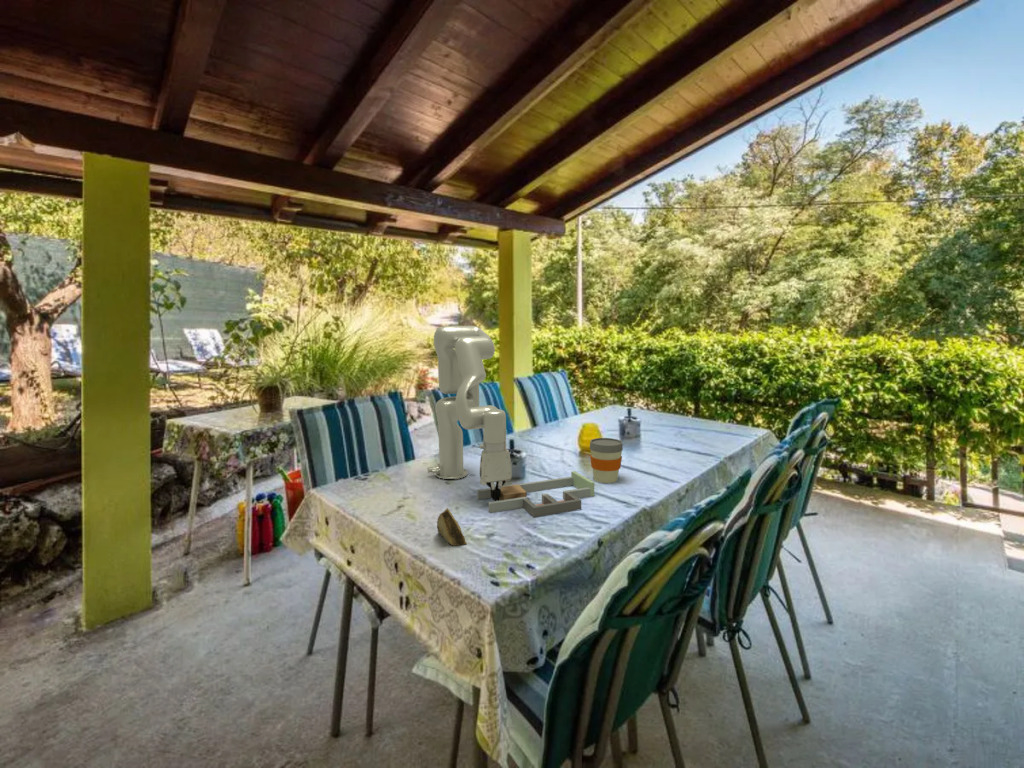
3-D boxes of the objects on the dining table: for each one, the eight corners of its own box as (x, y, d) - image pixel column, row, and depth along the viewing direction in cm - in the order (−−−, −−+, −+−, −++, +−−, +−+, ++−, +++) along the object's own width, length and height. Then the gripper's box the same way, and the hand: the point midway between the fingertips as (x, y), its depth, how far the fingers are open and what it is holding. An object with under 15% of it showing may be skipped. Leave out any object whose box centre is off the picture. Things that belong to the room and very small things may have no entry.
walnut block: (504, 506, 158) (503, 495, 157) (497, 498, 165) (496, 487, 165) (526, 503, 160) (526, 492, 160) (518, 495, 168) (518, 484, 167)
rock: (428, 524, 138) (426, 534, 128) (445, 500, 139) (444, 508, 129) (458, 545, 139) (458, 556, 129) (475, 520, 140) (477, 530, 130)
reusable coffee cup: (623, 476, 187) (624, 439, 186) (620, 486, 176) (621, 447, 174) (592, 473, 192) (592, 436, 190) (586, 482, 180) (587, 444, 178)
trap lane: (498, 523, 144) (498, 507, 143) (477, 498, 165) (476, 484, 164) (607, 504, 158) (607, 490, 157) (574, 483, 179) (574, 471, 178)
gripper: (476, 451, 151) (477, 506, 154) (520, 447, 157) (520, 500, 159) (470, 446, 158) (471, 498, 161) (511, 441, 164) (512, 493, 166)
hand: (495, 499), depth 160 cm, fingers closed
